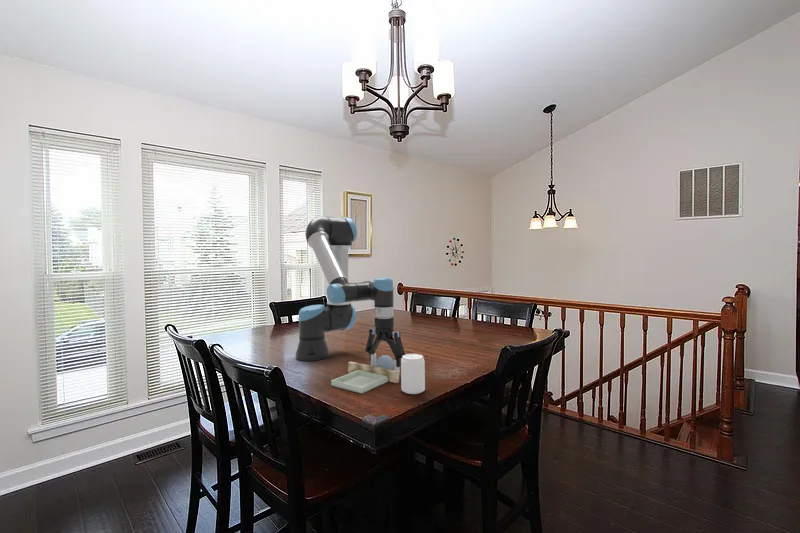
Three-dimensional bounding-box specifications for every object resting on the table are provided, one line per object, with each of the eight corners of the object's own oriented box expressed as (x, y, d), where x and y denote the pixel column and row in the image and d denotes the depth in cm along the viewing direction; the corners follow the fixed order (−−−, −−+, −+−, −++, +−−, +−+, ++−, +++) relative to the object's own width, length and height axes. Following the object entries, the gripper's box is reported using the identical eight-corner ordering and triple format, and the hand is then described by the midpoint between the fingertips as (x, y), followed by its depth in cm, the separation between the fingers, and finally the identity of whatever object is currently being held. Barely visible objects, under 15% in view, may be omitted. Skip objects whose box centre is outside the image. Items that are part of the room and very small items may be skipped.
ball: (372, 373, 152) (372, 356, 152) (383, 369, 158) (383, 352, 158) (386, 376, 148) (386, 358, 148) (397, 372, 154) (397, 354, 154)
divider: (348, 372, 155) (348, 362, 155) (350, 371, 156) (350, 361, 156) (396, 383, 141) (396, 372, 141) (399, 382, 142) (399, 371, 142)
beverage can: (400, 387, 137) (399, 353, 136) (423, 386, 137) (422, 352, 137) (402, 395, 128) (402, 360, 128) (426, 394, 129) (426, 359, 129)
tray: (331, 385, 139) (331, 380, 139) (358, 375, 151) (358, 369, 151) (361, 393, 131) (361, 388, 131) (387, 381, 143) (387, 376, 142)
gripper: (355, 316, 156) (356, 370, 157) (402, 321, 142) (403, 380, 143) (367, 313, 162) (368, 365, 163) (414, 318, 149) (414, 374, 149)
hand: (385, 372), depth 153 cm, fingers open, 11 cm apart
